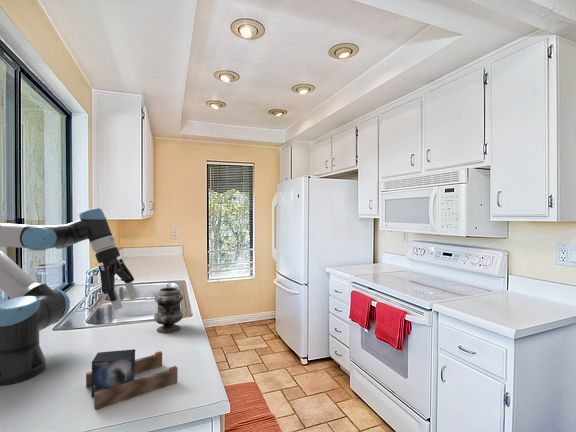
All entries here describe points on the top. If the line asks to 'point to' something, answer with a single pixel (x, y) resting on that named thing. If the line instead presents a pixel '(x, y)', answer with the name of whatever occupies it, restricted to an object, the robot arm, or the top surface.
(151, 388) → the chute
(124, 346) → the top surface
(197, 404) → the top surface
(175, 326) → the apothecary jar
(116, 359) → the small box
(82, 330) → the top surface
